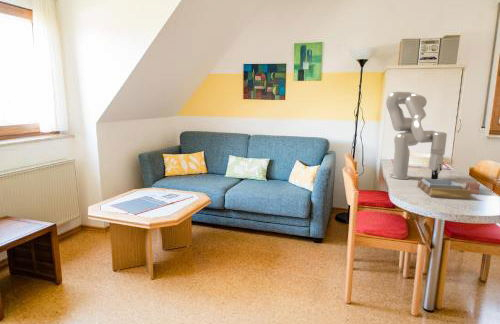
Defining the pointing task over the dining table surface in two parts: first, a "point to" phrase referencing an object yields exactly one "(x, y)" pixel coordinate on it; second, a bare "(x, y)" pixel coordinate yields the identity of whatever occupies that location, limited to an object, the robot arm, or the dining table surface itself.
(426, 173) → the dining table surface
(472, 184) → the block
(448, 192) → the bay
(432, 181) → the grey tray
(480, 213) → the dining table surface
